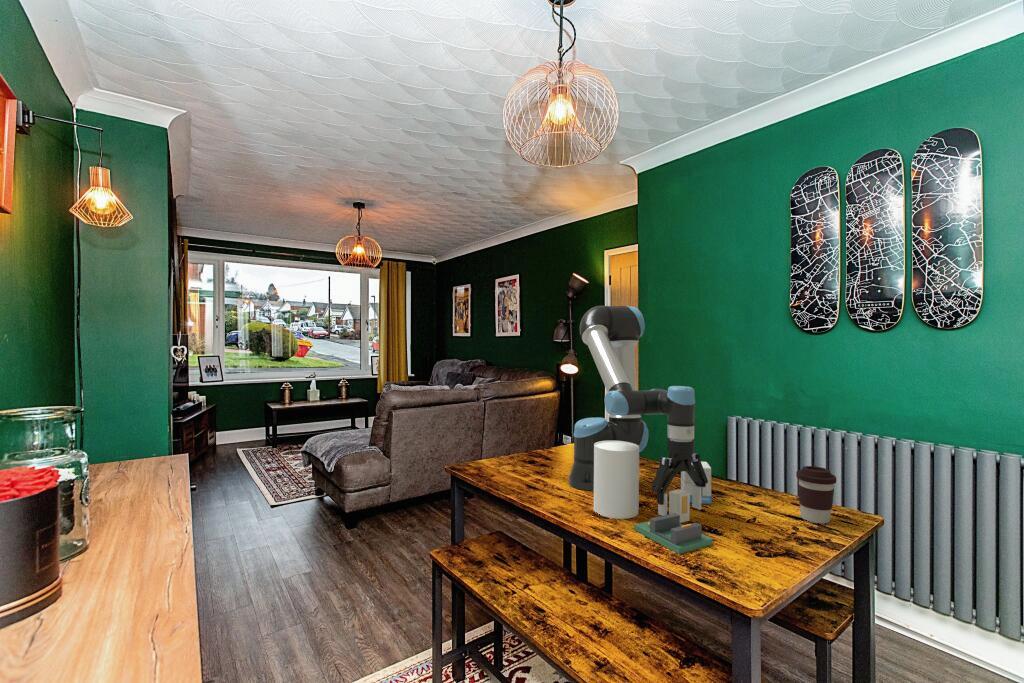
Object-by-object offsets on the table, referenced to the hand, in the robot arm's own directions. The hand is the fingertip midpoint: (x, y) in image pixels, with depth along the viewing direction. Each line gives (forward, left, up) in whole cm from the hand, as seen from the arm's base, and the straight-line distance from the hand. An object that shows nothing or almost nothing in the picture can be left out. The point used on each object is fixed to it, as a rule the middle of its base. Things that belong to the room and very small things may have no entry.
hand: (680, 511), depth 139 cm
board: (+8, -11, -2) cm, 14 cm away
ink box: (-10, +18, -3) cm, 21 cm away
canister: (-14, -12, -3) cm, 19 cm away
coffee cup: (+18, +36, -3) cm, 40 cm away
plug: (0, 0, -2) cm, 2 cm away
